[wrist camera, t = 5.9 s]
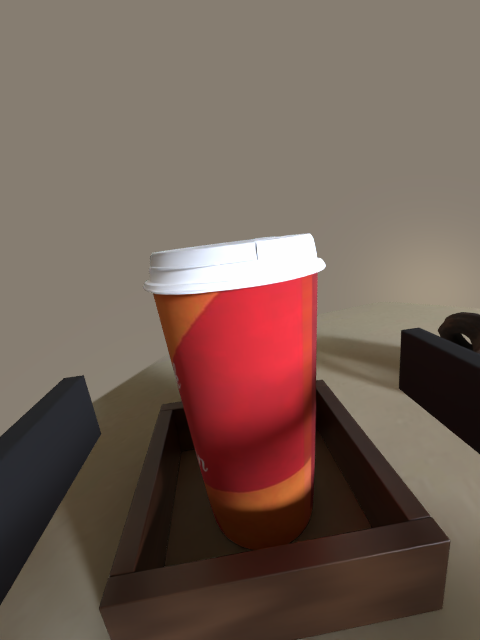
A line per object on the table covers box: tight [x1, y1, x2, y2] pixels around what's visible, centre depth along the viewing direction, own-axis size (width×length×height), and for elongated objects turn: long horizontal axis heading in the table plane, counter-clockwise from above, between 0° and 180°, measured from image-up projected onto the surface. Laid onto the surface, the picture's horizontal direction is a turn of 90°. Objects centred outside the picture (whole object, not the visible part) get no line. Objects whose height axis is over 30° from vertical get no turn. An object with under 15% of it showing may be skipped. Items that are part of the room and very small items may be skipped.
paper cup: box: [143, 234, 325, 550], centre depth 14 cm, size 8×8×14 cm
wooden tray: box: [99, 380, 450, 640], centre depth 16 cm, size 12×12×4 cm
